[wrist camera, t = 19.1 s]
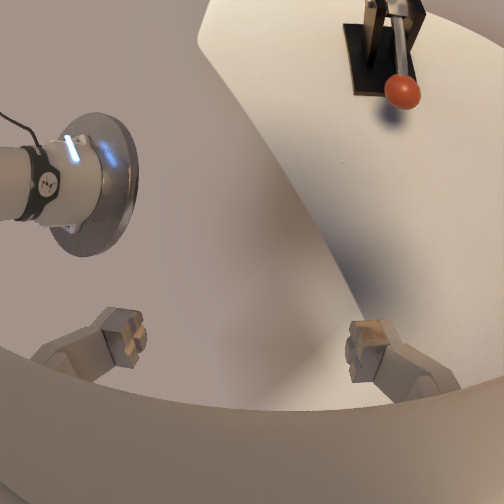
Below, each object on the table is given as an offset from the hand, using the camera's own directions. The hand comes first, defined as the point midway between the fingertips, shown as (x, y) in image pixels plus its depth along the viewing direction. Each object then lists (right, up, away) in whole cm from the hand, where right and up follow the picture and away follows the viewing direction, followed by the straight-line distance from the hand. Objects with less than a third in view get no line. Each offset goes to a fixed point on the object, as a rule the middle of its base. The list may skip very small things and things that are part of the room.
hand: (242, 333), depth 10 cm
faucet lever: (+16, +24, +10) cm, 31 cm away
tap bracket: (+18, +29, +18) cm, 39 cm away
